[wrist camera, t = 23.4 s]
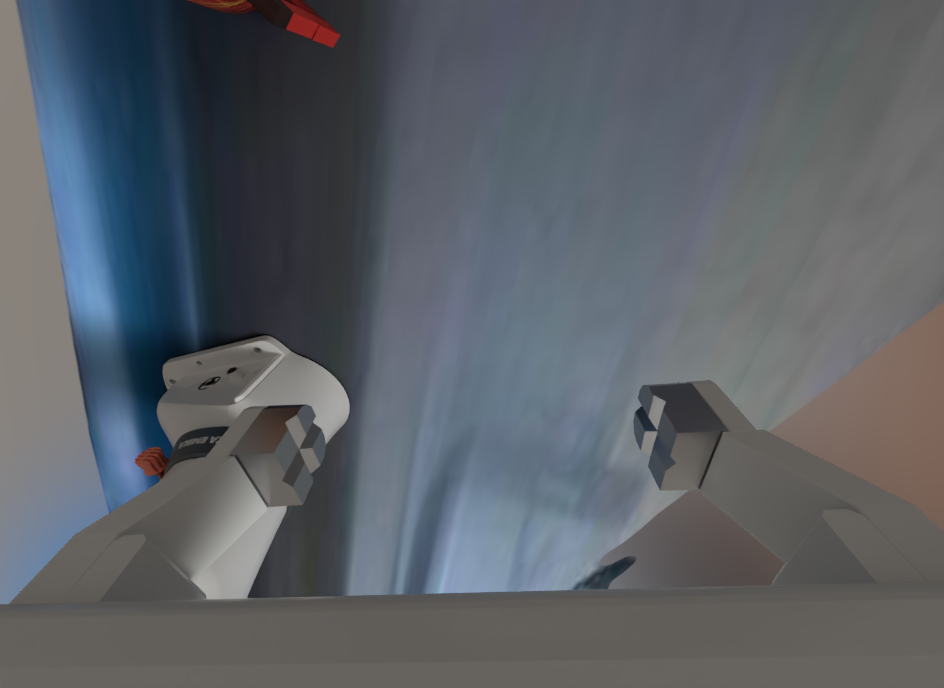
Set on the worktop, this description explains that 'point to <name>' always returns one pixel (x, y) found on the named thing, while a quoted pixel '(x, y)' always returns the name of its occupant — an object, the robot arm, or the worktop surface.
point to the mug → (281, 16)
